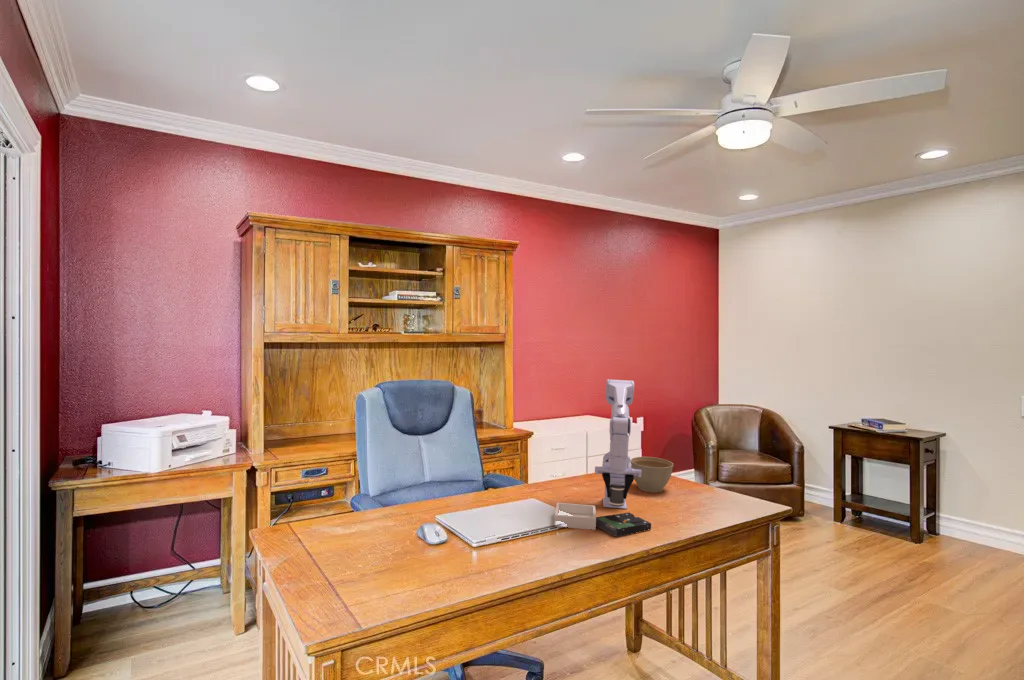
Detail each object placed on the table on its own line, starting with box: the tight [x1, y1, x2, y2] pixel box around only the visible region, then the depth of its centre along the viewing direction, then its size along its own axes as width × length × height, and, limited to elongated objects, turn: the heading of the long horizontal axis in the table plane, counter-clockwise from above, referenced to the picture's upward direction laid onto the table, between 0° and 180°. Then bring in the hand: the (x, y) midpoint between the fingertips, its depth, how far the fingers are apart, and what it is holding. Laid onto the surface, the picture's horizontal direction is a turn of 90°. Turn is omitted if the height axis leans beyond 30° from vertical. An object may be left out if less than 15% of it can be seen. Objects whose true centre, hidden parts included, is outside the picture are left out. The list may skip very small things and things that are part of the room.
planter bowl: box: [630, 456, 674, 494], centre depth 219 cm, size 16×16×11 cm
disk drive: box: [596, 512, 652, 537], centre depth 176 cm, size 10×3×15 cm
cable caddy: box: [554, 502, 597, 531], centre depth 180 cm, size 13×13×4 cm
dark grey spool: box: [609, 484, 625, 506], centre depth 179 cm, size 5×5×6 cm
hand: (616, 497), depth 179 cm, fingers closed on dark grey spool, 4 cm apart
